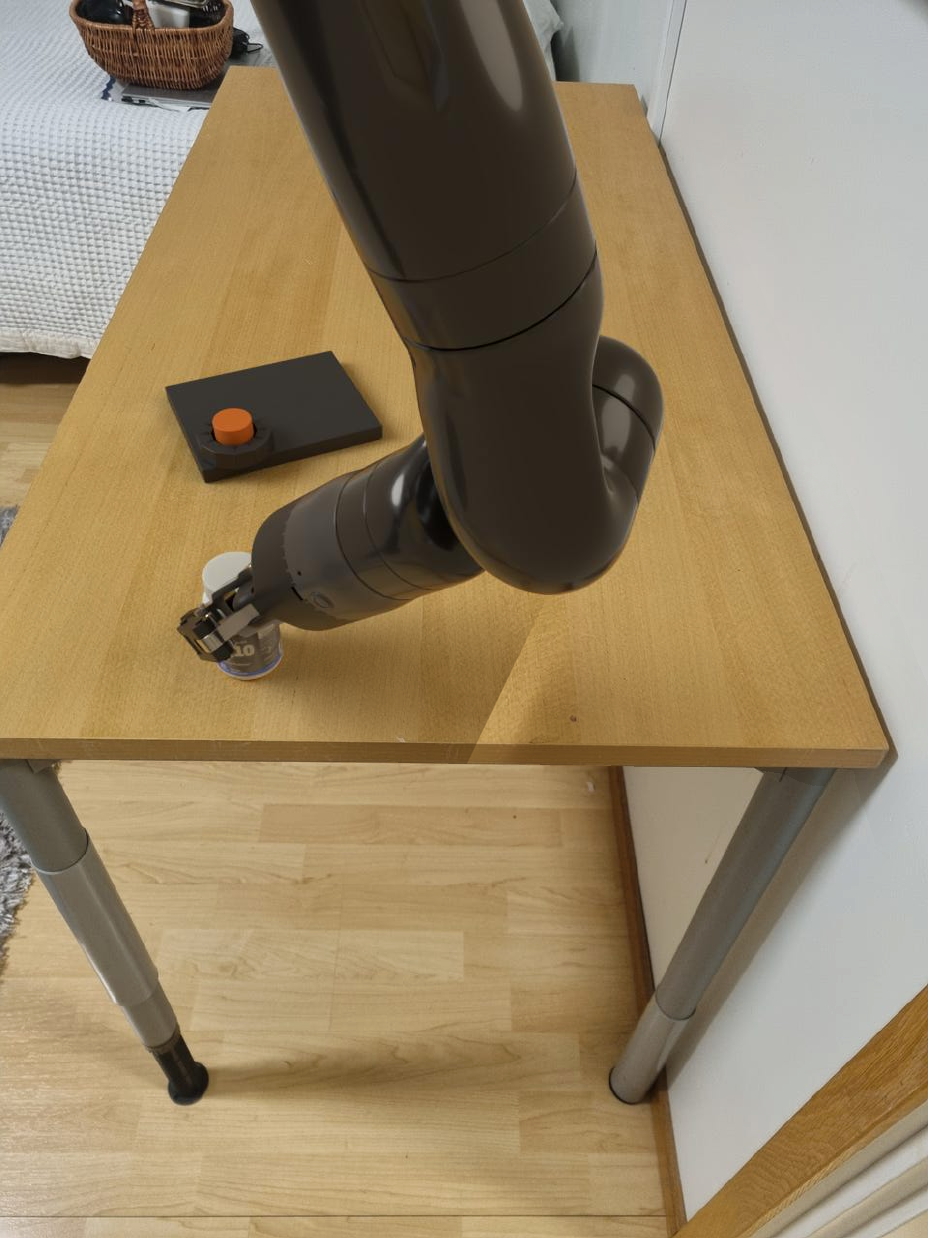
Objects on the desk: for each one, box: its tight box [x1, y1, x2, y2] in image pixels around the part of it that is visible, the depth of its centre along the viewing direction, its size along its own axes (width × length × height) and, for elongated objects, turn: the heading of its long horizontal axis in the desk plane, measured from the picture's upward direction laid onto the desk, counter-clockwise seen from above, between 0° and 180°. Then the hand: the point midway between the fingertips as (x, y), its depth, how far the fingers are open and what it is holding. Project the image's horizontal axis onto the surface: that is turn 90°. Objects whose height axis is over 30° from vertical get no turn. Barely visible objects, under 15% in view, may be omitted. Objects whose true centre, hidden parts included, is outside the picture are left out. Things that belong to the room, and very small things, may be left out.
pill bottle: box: [201, 551, 284, 681], centre depth 63 cm, size 5×5×8 cm
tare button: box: [212, 408, 254, 446], centre depth 78 cm, size 3×3×2 cm
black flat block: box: [164, 350, 383, 484], centre depth 83 cm, size 16×14×3 cm
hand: (221, 604), depth 63 cm, fingers closed on pill bottle, 4 cm apart
